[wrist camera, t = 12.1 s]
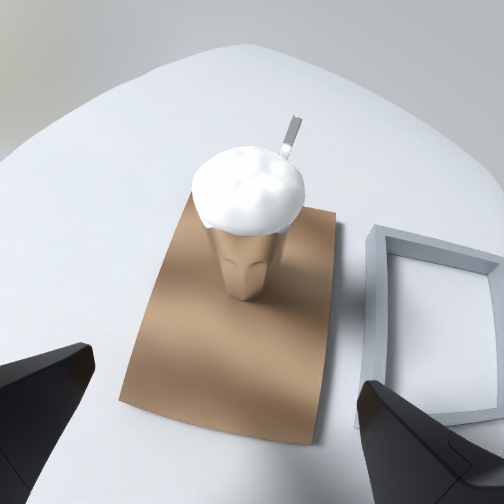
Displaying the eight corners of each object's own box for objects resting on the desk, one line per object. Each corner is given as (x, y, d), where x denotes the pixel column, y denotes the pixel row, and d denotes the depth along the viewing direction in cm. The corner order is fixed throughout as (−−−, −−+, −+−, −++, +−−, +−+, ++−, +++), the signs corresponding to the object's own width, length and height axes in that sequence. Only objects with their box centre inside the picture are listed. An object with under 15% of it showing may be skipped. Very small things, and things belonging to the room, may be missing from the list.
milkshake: (304, 265, 19) (345, 141, 11) (249, 326, 17) (257, 220, 9) (250, 227, 21) (256, 98, 12) (194, 279, 19) (160, 154, 10)
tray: (502, 417, 14) (519, 414, 12) (353, 427, 15) (366, 428, 13) (491, 268, 21) (503, 257, 19) (365, 240, 22) (374, 224, 20)
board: (307, 443, 14) (311, 444, 14) (124, 401, 15) (118, 400, 14) (332, 220, 23) (335, 212, 22) (194, 197, 23) (193, 188, 23)
